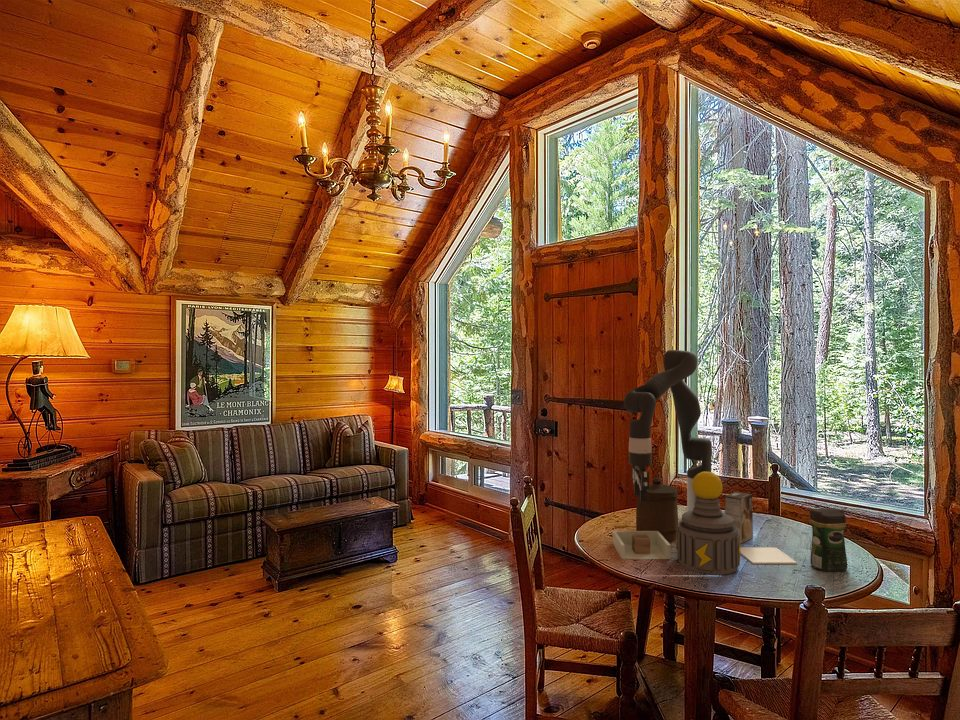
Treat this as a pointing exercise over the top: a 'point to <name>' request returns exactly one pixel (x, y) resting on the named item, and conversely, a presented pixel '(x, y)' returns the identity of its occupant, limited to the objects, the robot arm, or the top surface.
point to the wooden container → (658, 510)
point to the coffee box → (740, 513)
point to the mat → (766, 556)
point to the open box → (657, 545)
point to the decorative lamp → (708, 531)
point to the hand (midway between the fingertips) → (640, 498)
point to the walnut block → (640, 544)
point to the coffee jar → (828, 539)
